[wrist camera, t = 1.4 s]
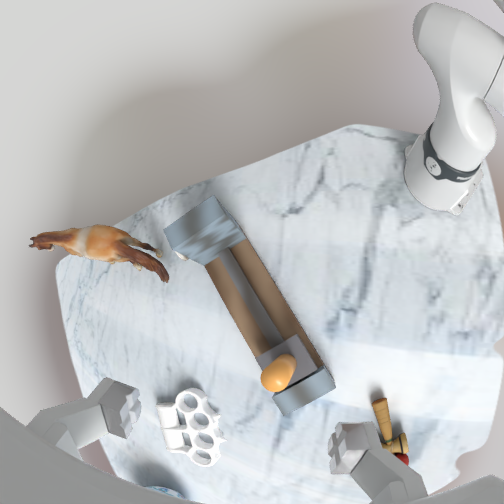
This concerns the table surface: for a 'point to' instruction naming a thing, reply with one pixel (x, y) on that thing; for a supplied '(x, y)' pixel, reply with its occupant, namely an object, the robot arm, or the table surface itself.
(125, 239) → the horse figurine
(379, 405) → the kendama
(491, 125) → the robot arm
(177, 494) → the chinaware
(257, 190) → the table surface
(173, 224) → the walnut rail
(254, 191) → the table surface
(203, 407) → the white brass knuckles
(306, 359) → the carriage
